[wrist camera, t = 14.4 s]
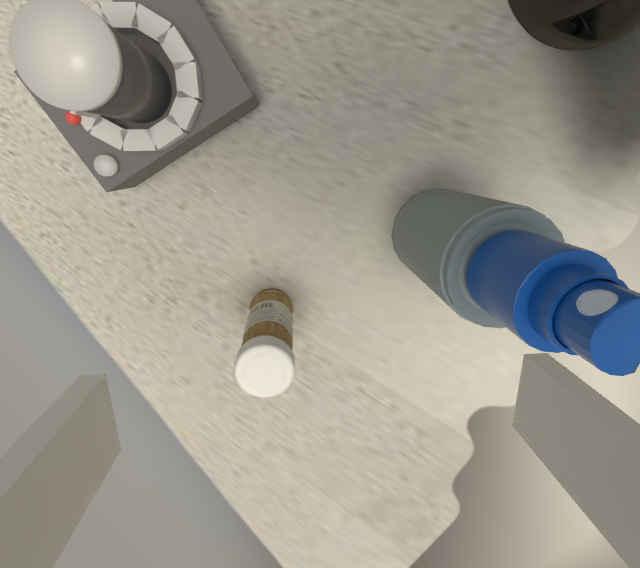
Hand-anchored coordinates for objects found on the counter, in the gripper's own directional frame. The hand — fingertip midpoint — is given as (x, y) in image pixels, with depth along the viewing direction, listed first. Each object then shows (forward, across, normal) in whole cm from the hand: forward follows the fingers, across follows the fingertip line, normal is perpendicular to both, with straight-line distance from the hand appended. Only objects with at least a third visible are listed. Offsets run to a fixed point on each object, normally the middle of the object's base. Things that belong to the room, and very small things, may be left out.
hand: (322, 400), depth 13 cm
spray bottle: (+29, +14, 0) cm, 32 cm away
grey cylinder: (+23, -12, +12) cm, 29 cm away
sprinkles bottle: (+29, -3, -8) cm, 30 cm away
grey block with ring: (+29, -12, +13) cm, 34 cm away
